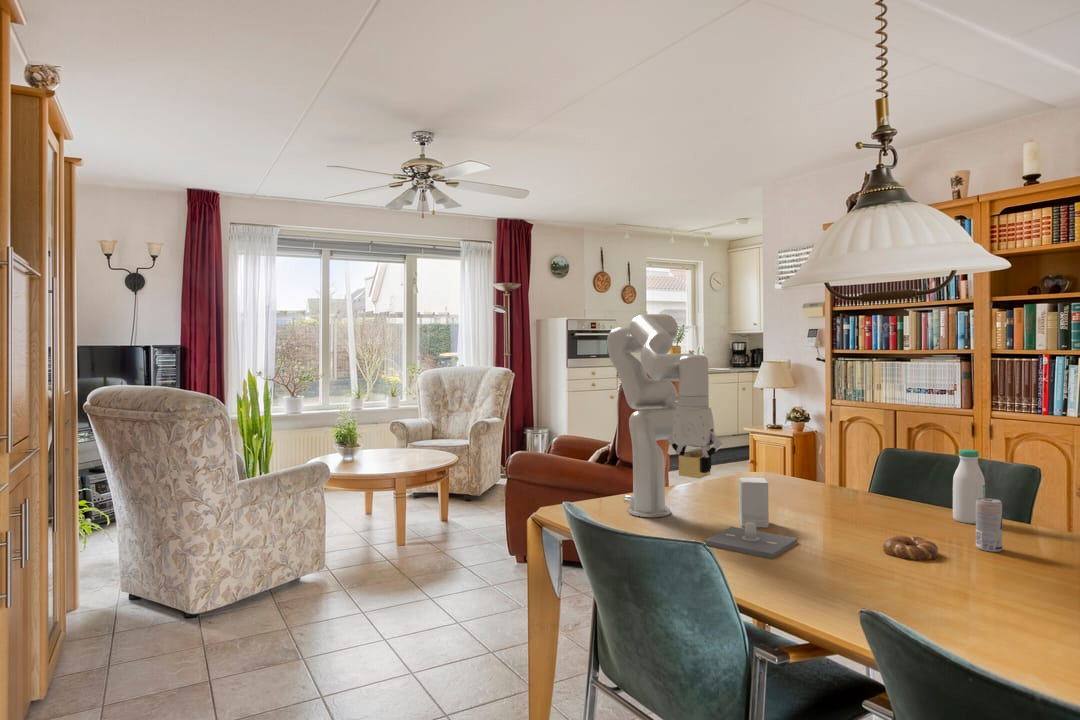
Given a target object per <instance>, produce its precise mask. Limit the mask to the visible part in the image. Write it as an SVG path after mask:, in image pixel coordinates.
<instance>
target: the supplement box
mask: <svg viewBox="0 0 1080 720" xmlns="http://www.w3.org/2000/svg"><path fill="white" fill-rule="evenodd" d="M738 505H739V506H738V507H739V508H738V511H739V512H738V514H739V515H738V517H739V518H738V519H739V523H740V526H741V528H745V523H746V522H753V523H756V528H760V527H761V528H762V527H763V528H764V529H765V528H766V529H768V528H769V526H770V524H769V522H770V521H769V520H770V519H769V516H770V515H769V513H770V512H769V482H768V481H767V480H766V478H765V477H739V478H738ZM763 528H762V529H763Z"/></svg>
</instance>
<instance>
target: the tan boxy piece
mask: <svg viewBox="0 0 1080 720" xmlns="http://www.w3.org/2000/svg"><path fill="white" fill-rule="evenodd" d="M703 457H704V454H703V452H702V449H701V447H697V448H694V449H692V450H688V451H685V454H682V455H679V465H678V476H681V477H686V478H687V477H688V478H692V479H693V478H694V479H702V478H705V477H708V476H710V475H711V471H710V472H707V473H703V472H702V458H703Z"/></svg>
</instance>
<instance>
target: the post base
mask: <svg viewBox="0 0 1080 720" xmlns="http://www.w3.org/2000/svg"><path fill="white" fill-rule="evenodd" d="M798 540H799V539H798V537H793V536H787V535H782V534H776V533H771V532H766V531H760V530H757V527H756V523H753V522H746V523H745V527H739V526H738V527H737V526H732V525H731V526H728V527H727V528H725V529H723V530H721V531H719V532H717V533H715V534H713V535H711V536H709V537H707V538H705V539H703V543H704V542H705V543H706V544H707V545H708V546H709V547H713V548H717V549H724V550H726V551H727V550H728V551H733V552H737V553H742V554H748V555H751V556H756V557H757V556H758V557H760V558H761V557H762V558H765V559H772V560H773V559H775V558H777V557H778V556H779V555H781V554H783V553H785V552H786V551H787V550H789V549H790V548H792V547H793V545H794V546H796V545H797V544H798ZM796 543H797V544H796ZM707 545H706V546H707Z"/></svg>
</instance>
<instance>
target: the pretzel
mask: <svg viewBox="0 0 1080 720" xmlns="http://www.w3.org/2000/svg"><path fill="white" fill-rule="evenodd" d="M882 549H883V550H882V551H883V553H884V554H886V555H888V556H891V555H892V556H891V557H895V556H897V558H900V557H901V558H900V559H903V558H905V559H904V560H915V561H919V560H924V561H929V560H934V559H936V558H937V557H938V554H939V548H938V546H937V544H936V543H934V542H933V541H931V540H926V538H924V537H919V536H910V537H909V536H904V535H903V536H902V535H900V536H899V535H898V536H893V537H891V538H889V539H887V540H885V542H884V543H883V546H882Z"/></svg>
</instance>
